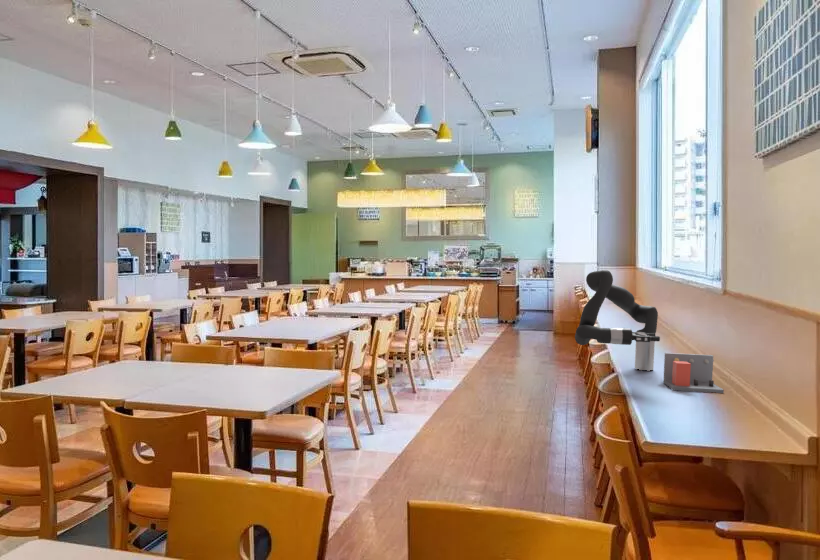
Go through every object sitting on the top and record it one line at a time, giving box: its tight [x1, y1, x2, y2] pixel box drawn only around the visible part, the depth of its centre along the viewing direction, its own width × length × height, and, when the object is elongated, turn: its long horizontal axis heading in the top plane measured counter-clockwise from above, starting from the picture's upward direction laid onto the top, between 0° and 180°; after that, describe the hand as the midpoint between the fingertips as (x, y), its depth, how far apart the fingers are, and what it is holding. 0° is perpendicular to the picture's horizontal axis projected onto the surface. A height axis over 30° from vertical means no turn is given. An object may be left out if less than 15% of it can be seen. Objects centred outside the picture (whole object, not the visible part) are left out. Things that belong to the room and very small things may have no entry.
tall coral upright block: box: [672, 361, 691, 386], centre depth 283 cm, size 6×6×10 cm
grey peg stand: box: [663, 352, 725, 394], centre depth 284 cm, size 17×21×14 cm
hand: (657, 337), depth 284 cm, fingers open, 8 cm apart
